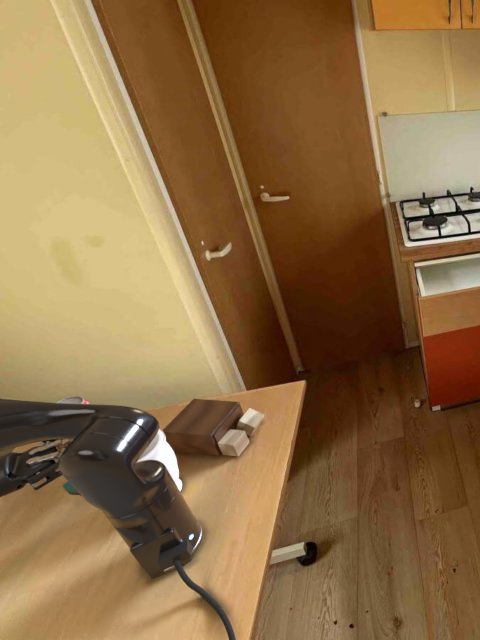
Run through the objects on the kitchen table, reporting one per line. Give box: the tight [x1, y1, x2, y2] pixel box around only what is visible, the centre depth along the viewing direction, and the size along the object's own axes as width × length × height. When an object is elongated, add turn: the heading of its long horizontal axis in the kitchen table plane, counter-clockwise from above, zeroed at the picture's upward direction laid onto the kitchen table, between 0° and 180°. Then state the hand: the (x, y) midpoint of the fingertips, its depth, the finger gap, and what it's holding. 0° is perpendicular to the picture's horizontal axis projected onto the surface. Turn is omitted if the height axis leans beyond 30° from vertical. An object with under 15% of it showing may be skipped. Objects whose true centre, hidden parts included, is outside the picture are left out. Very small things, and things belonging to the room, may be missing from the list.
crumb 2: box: [235, 407, 265, 437], centre depth 104 cm, size 4×4×4 cm
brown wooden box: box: [161, 398, 245, 457], centre depth 102 cm, size 12×10×7 cm
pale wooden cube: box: [218, 429, 250, 457], centre depth 100 cm, size 4×4×4 cm
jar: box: [137, 428, 183, 492], centre depth 86 cm, size 11×10×15 cm
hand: (102, 437), depth 89 cm, fingers closed on brush, 3 cm apart
